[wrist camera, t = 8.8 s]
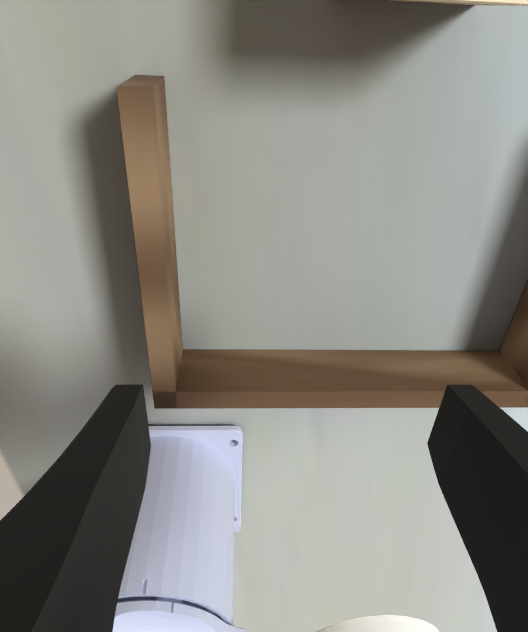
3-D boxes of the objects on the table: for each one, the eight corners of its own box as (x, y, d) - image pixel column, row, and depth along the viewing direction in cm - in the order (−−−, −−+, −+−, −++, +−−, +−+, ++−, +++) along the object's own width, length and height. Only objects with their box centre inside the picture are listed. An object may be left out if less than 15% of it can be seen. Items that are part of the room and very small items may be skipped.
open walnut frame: (512, 366, 25) (543, 407, 22) (163, 365, 24) (154, 408, 21) (627, 93, 18) (692, 108, 15) (134, 75, 16) (116, 87, 14)
